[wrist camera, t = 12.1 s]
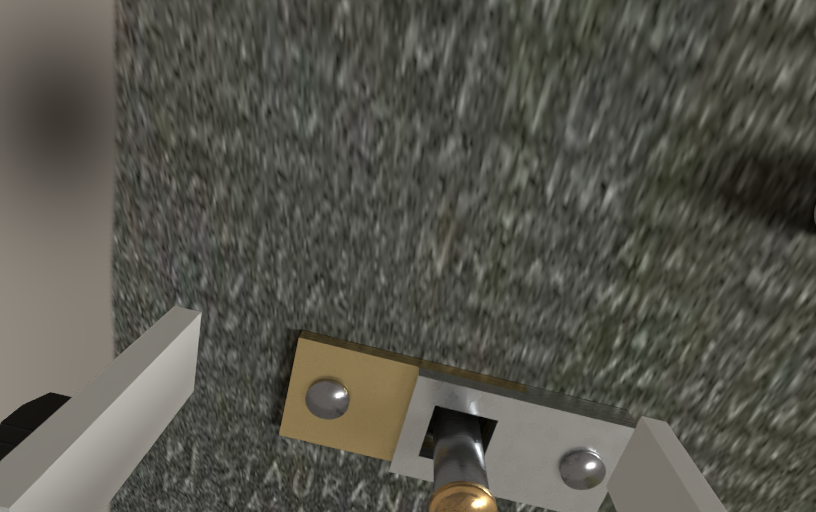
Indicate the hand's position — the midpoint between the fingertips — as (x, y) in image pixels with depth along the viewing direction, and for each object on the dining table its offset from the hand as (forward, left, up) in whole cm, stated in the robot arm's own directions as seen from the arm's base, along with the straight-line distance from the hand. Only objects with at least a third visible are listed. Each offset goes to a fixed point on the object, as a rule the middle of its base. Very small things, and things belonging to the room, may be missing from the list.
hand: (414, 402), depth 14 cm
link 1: (+23, +4, -30) cm, 38 cm away
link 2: (+23, +15, -30) cm, 41 cm away
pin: (+23, +10, -30) cm, 39 cm away
